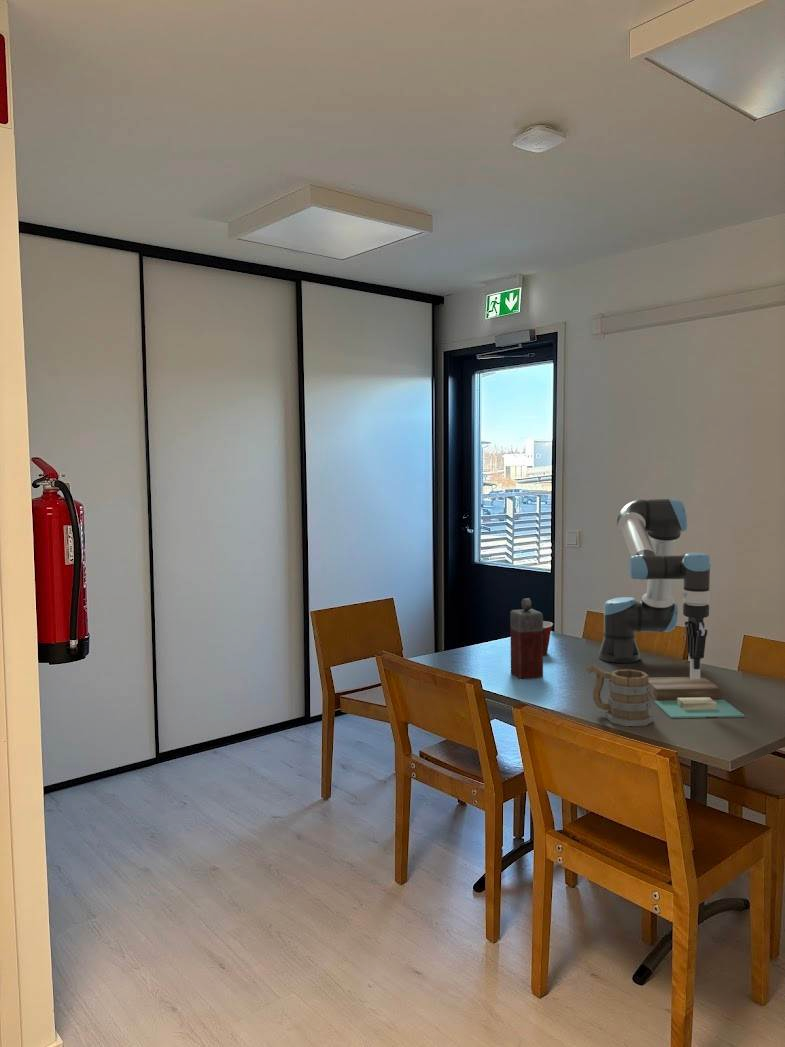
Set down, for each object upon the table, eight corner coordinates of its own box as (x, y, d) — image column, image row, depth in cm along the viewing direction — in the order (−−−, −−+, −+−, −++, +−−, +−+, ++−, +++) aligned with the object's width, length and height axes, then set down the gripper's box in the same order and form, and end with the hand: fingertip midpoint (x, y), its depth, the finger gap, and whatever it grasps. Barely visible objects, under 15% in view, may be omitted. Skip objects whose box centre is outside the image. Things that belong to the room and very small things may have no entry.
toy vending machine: (549, 677, 292) (549, 599, 290) (519, 679, 289) (519, 601, 287) (539, 670, 301) (538, 595, 298) (510, 673, 298) (509, 597, 296)
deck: (643, 689, 275) (643, 677, 274) (703, 688, 274) (703, 676, 274) (656, 701, 261) (656, 689, 260) (719, 700, 260) (719, 688, 260)
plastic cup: (520, 651, 331) (520, 621, 330) (544, 648, 335) (544, 619, 334) (533, 657, 321) (533, 627, 320) (558, 654, 324) (557, 624, 323)
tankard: (658, 718, 244) (659, 669, 243) (639, 729, 235) (640, 678, 234) (597, 706, 257) (597, 659, 256) (577, 716, 248) (577, 667, 247)
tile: (683, 703, 250) (683, 709, 250) (716, 703, 250) (716, 709, 250) (677, 697, 256) (677, 704, 256) (709, 697, 256) (709, 703, 256)
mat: (654, 702, 260) (654, 700, 260) (723, 701, 260) (723, 699, 260) (670, 718, 244) (670, 716, 244) (744, 717, 244) (744, 715, 244)
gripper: (676, 599, 259) (675, 672, 261) (691, 607, 246) (690, 684, 248) (700, 599, 258) (699, 672, 261) (716, 607, 245) (715, 684, 248)
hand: (695, 678), depth 254 cm, fingers closed
